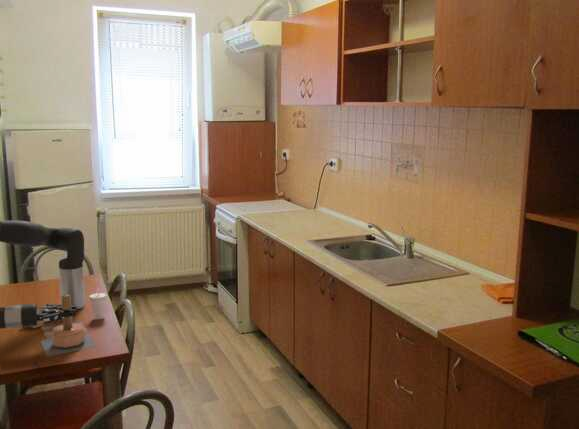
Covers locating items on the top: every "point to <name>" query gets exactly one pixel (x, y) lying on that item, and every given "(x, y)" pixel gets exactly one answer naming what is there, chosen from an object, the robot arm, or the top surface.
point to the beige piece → (38, 324)
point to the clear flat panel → (49, 328)
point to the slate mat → (54, 350)
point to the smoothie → (98, 304)
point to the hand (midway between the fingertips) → (75, 310)
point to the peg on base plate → (67, 328)
